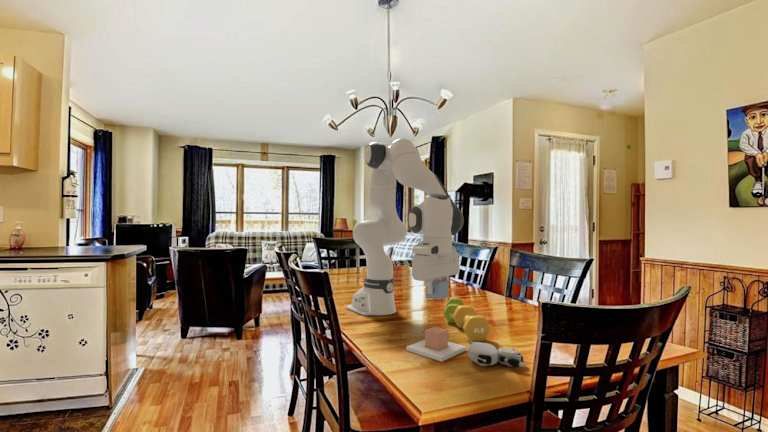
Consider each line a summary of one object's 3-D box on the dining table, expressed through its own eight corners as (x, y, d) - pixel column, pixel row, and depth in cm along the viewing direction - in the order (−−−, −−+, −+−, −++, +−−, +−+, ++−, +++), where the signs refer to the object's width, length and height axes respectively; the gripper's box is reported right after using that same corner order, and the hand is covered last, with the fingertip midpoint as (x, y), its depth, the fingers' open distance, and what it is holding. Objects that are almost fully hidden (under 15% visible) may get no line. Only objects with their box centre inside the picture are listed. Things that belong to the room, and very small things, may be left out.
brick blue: (425, 297, 120) (425, 281, 120) (435, 295, 123) (435, 279, 123) (439, 299, 116) (439, 283, 116) (448, 297, 120) (448, 281, 120)
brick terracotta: (424, 346, 120) (425, 329, 120) (434, 342, 123) (434, 326, 123) (438, 350, 116) (438, 333, 116) (447, 346, 120) (448, 329, 120)
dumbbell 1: (446, 313, 166) (446, 296, 166) (465, 314, 164) (465, 297, 164) (442, 323, 150) (442, 304, 150) (464, 325, 148) (464, 306, 148)
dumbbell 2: (492, 342, 128) (492, 317, 128) (464, 343, 128) (464, 318, 128) (475, 326, 147) (475, 304, 147) (451, 326, 147) (451, 304, 146)
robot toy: (518, 360, 115) (466, 353, 118) (520, 345, 115) (468, 338, 118) (526, 377, 103) (467, 368, 106) (527, 360, 103) (469, 352, 105)
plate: (406, 350, 120) (406, 346, 120) (431, 340, 129) (431, 336, 129) (441, 361, 111) (441, 357, 111) (466, 350, 120) (466, 346, 120)
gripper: (447, 244, 129) (447, 286, 130) (408, 248, 115) (408, 295, 115) (464, 245, 125) (464, 288, 125) (425, 249, 110) (425, 298, 110)
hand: (437, 292), depth 120 cm, fingers closed on brick blue, 5 cm apart
